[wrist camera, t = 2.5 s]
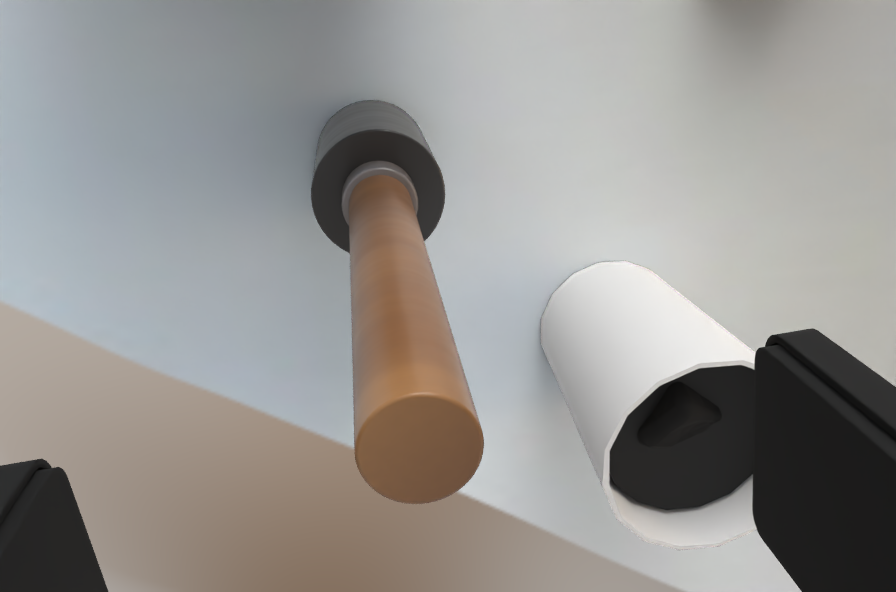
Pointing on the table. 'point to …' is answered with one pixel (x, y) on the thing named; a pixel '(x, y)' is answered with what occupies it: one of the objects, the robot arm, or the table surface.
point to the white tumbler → (656, 403)
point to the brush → (396, 305)
